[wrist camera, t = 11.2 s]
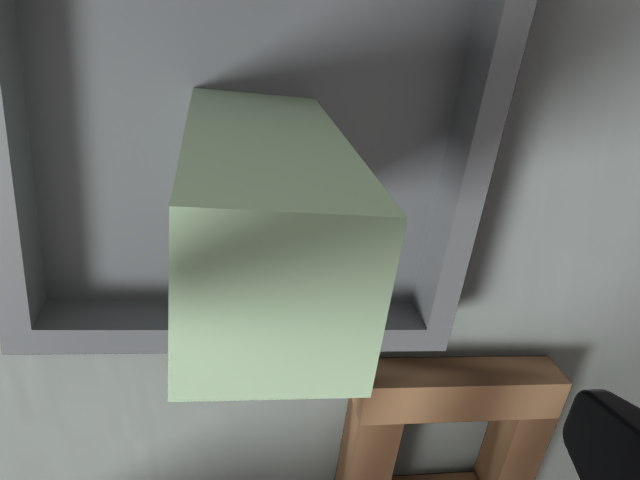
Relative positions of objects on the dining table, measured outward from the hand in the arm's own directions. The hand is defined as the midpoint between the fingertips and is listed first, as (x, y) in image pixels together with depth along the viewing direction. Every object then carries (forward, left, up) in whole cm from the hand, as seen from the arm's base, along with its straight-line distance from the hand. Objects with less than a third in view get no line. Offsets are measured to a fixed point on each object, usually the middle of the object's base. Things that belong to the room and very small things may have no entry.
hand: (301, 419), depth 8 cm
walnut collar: (+10, -14, -13) cm, 21 cm away
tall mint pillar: (0, 0, -12) cm, 12 cm away
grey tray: (0, 0, -13) cm, 13 cm away
